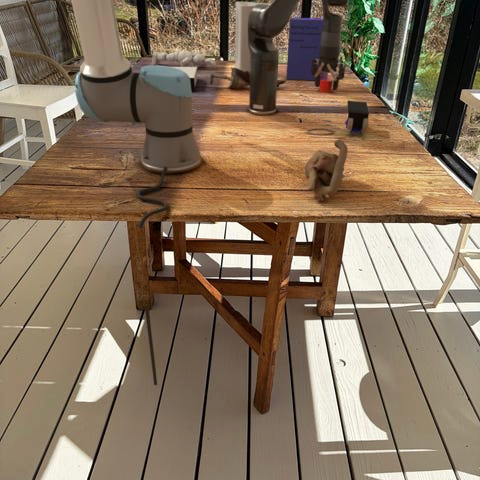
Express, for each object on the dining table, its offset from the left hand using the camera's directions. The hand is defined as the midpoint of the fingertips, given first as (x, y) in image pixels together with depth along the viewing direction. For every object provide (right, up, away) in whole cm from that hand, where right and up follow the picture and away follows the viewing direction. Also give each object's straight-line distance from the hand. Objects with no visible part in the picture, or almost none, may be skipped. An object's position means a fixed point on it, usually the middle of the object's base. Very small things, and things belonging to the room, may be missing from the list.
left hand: (148, 0), depth 141 cm
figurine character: (+63, -37, +7) cm, 73 cm away
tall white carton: (+33, +6, +77) cm, 84 cm away
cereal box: (+56, -1, +67) cm, 87 cm away
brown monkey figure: (+46, -59, -30) cm, 81 cm away
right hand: (+61, -10, +49) cm, 79 cm away
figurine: (+30, -10, +51) cm, 60 cm away
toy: (+1, +11, +85) cm, 86 cm away
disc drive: (0, -7, +55) cm, 55 cm away
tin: (+61, -11, +49) cm, 79 cm away
